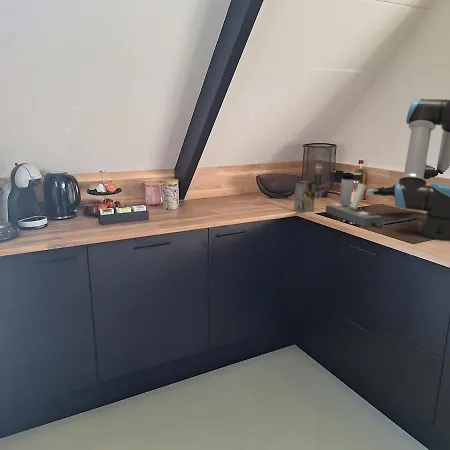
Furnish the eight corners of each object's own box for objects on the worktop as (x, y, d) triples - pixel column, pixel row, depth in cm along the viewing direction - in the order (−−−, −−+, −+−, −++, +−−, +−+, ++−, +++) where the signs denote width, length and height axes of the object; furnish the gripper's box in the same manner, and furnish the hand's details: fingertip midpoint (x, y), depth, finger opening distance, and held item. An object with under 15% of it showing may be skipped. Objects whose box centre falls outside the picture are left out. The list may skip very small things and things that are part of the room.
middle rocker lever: (356, 211, 216) (366, 185, 215) (353, 210, 215) (364, 184, 214) (351, 209, 220) (361, 184, 218) (348, 208, 219) (358, 183, 217)
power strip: (390, 227, 203) (391, 217, 201) (372, 229, 198) (373, 218, 197) (341, 211, 234) (342, 201, 233) (325, 212, 230) (326, 203, 229)
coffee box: (305, 208, 237) (308, 180, 233) (313, 211, 232) (316, 182, 228) (293, 210, 232) (295, 181, 228) (301, 212, 227) (303, 183, 223)
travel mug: (349, 206, 246) (353, 172, 240) (350, 209, 240) (354, 174, 234) (338, 205, 247) (342, 171, 242) (338, 208, 241) (342, 173, 236)
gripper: (410, 200, 223) (375, 202, 214) (391, 195, 235) (358, 197, 226) (412, 186, 221) (377, 187, 212) (393, 181, 233) (359, 183, 224)
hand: (367, 192), depth 219 cm, fingers closed
